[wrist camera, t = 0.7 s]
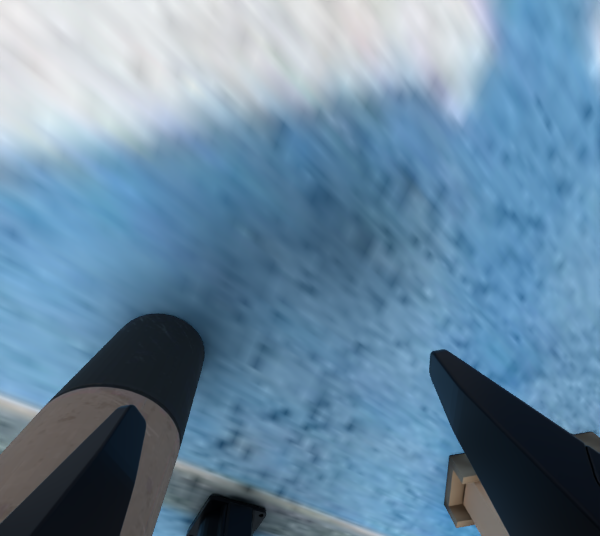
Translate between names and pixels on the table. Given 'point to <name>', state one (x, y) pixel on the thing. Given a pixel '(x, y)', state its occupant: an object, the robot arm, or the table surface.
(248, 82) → the table surface
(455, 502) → the rail
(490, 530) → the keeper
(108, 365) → the travel mug
